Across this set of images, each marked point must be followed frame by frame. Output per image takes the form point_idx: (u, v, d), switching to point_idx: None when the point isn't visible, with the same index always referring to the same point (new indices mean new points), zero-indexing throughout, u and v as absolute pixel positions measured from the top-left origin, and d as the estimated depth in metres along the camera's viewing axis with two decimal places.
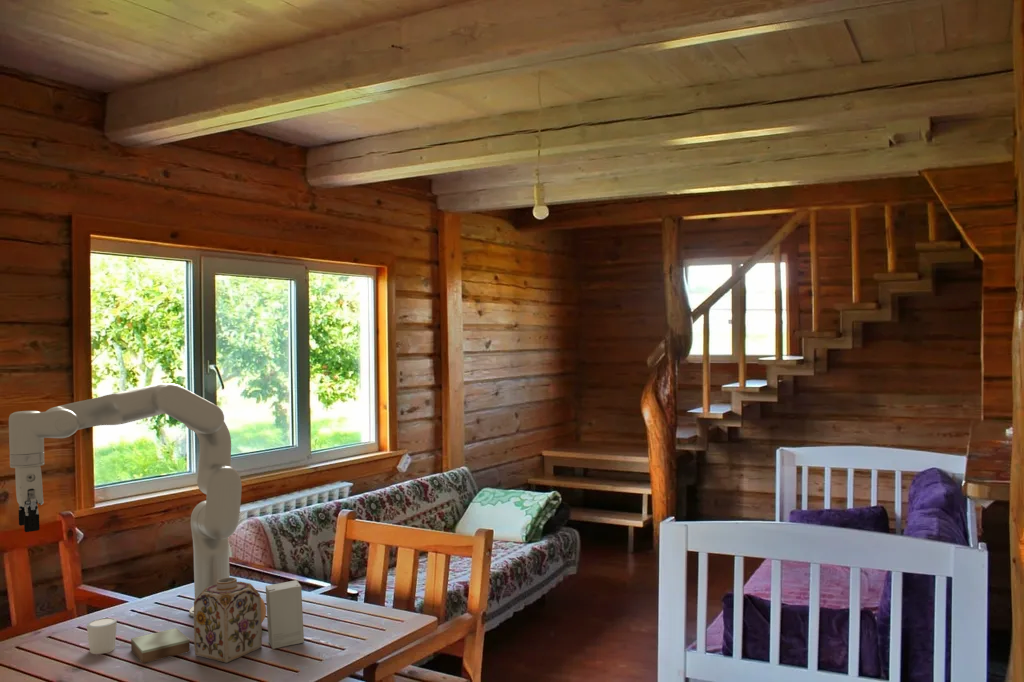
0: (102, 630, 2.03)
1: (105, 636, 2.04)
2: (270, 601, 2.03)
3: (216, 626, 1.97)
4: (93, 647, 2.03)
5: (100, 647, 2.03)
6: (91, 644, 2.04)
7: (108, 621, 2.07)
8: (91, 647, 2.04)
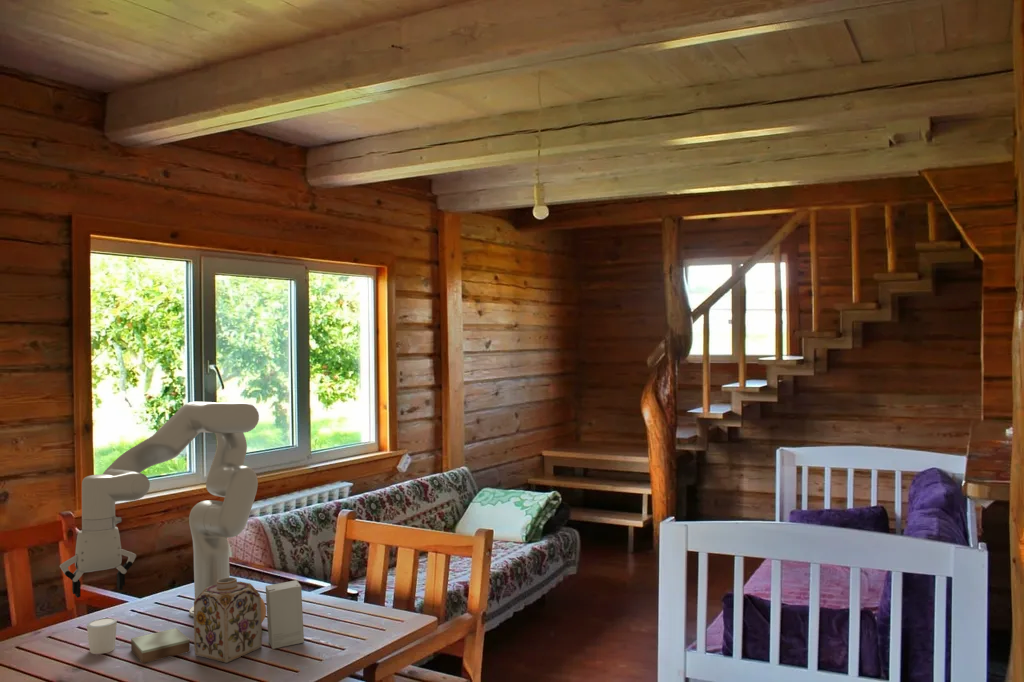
0: (102, 630, 2.03)
1: (105, 636, 2.04)
2: (270, 601, 2.03)
3: (216, 626, 1.97)
4: (93, 647, 2.03)
5: (100, 647, 2.03)
6: (91, 644, 2.04)
7: (108, 621, 2.07)
8: (91, 647, 2.04)
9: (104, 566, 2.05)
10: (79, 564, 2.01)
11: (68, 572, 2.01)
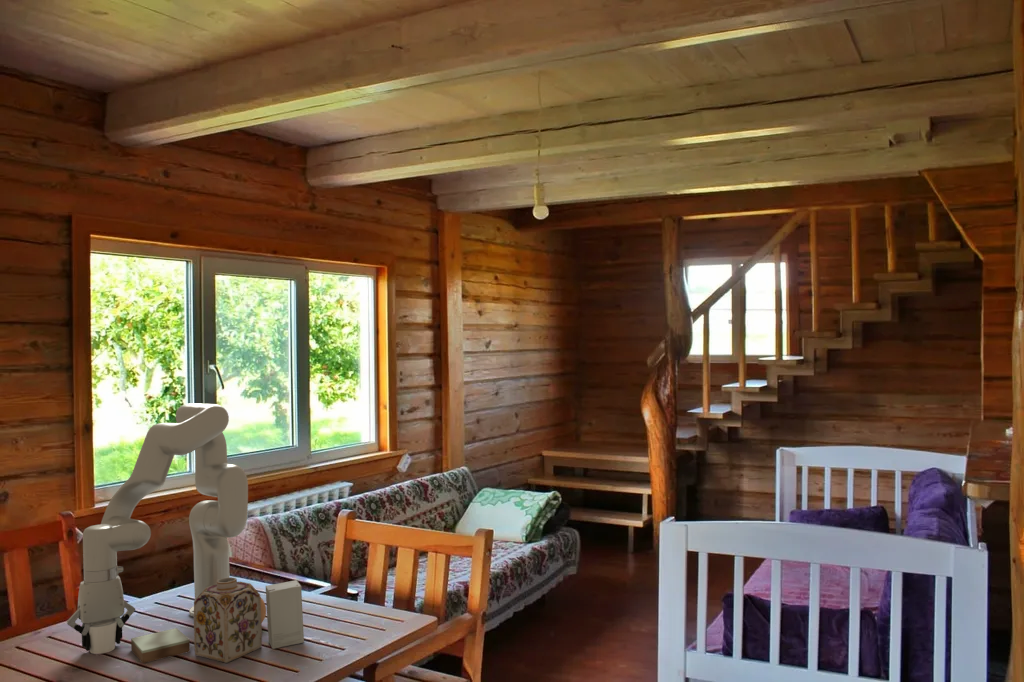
0: (102, 630, 2.03)
1: (105, 636, 2.04)
2: (270, 601, 2.03)
3: (216, 626, 1.97)
4: (93, 647, 2.03)
5: (100, 647, 2.03)
6: (91, 644, 2.04)
7: (108, 621, 2.07)
8: (91, 647, 2.04)
9: (107, 616, 2.05)
10: (81, 616, 2.02)
11: (77, 626, 2.02)
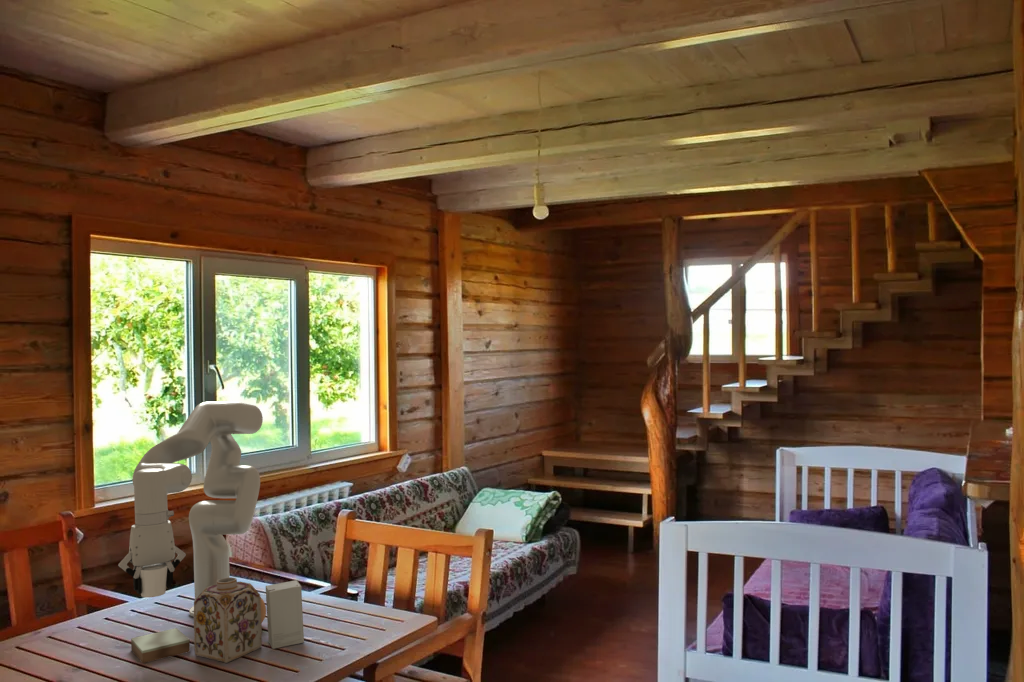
0: (153, 573, 2.02)
1: (156, 580, 2.02)
2: (270, 601, 2.03)
3: (216, 626, 1.97)
4: (145, 591, 2.02)
5: (151, 590, 2.02)
6: (142, 587, 2.02)
7: (159, 565, 2.05)
8: (142, 590, 2.02)
9: (158, 560, 2.03)
10: (133, 558, 2.00)
11: (129, 569, 2.01)
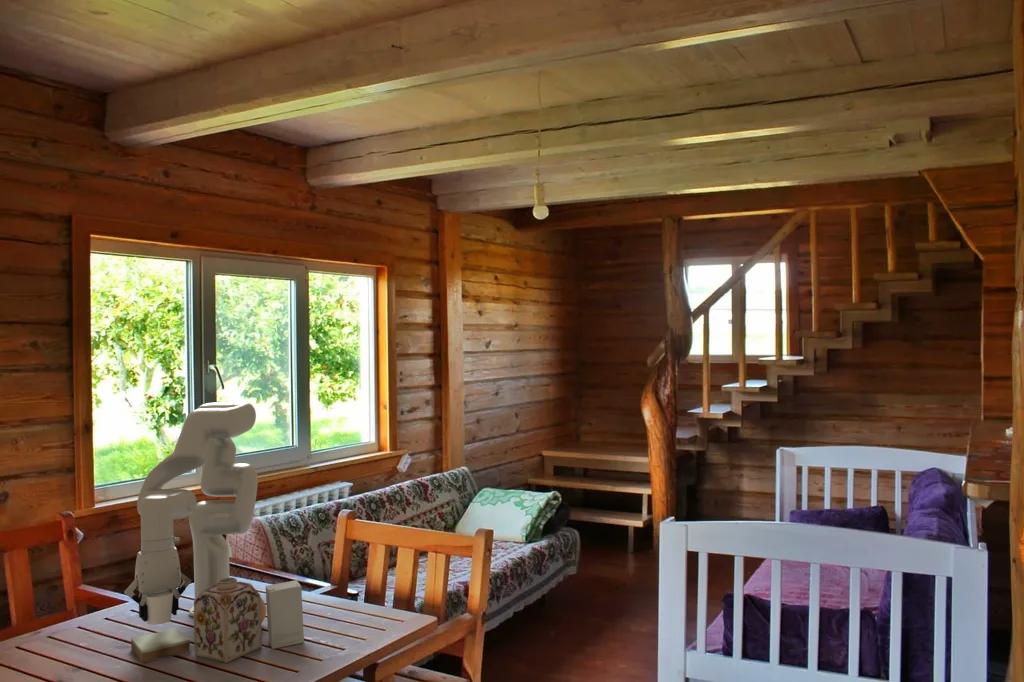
0: (159, 600, 2.01)
1: (162, 607, 2.02)
2: (270, 601, 2.03)
3: (216, 626, 1.97)
4: (150, 618, 2.01)
5: (157, 618, 2.01)
6: (148, 614, 2.01)
7: (165, 592, 2.05)
8: (148, 617, 2.02)
9: (164, 587, 2.03)
10: (139, 586, 2.00)
11: (135, 596, 2.00)
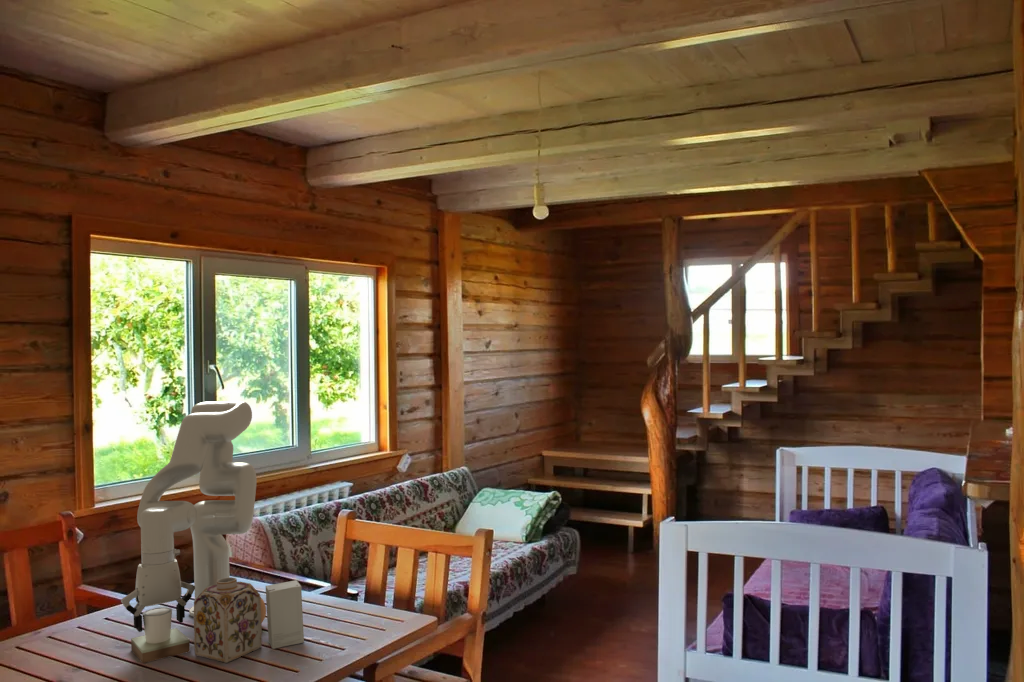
0: (158, 619, 2.01)
1: (161, 626, 2.02)
2: (270, 601, 2.03)
3: (216, 626, 1.97)
4: (150, 637, 2.01)
5: (156, 636, 2.01)
6: (147, 633, 2.02)
7: (163, 610, 2.05)
8: (147, 636, 2.02)
9: (165, 599, 2.03)
10: (140, 598, 2.00)
11: (130, 607, 1.99)
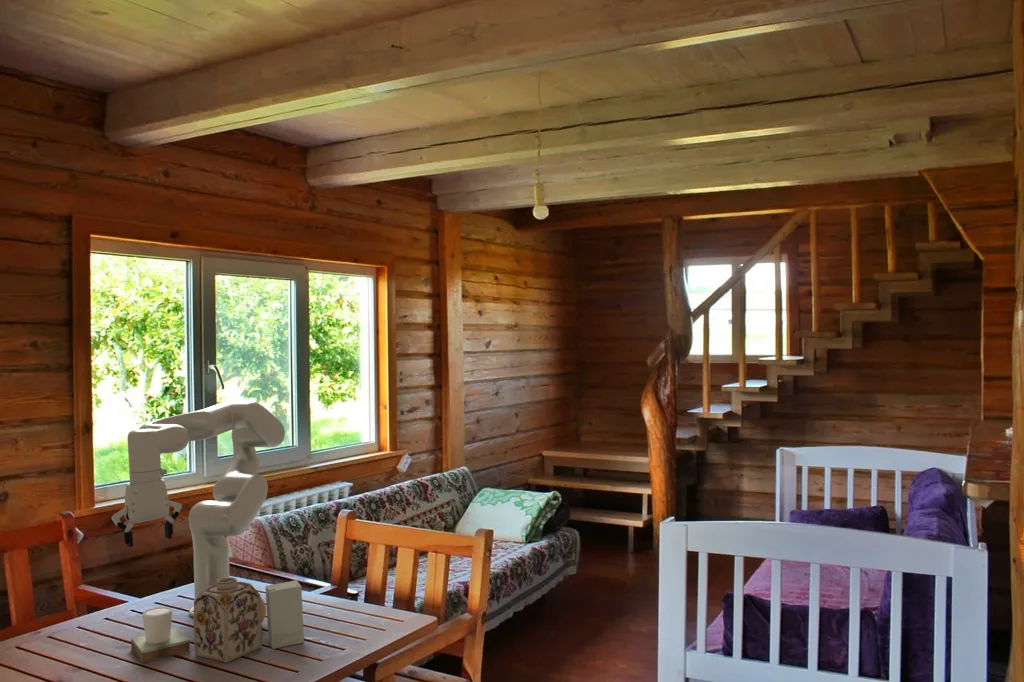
0: (158, 619, 2.01)
1: (161, 626, 2.02)
2: (270, 601, 2.03)
3: (216, 626, 1.97)
4: (150, 637, 2.01)
5: (156, 636, 2.01)
6: (147, 633, 2.02)
7: (163, 610, 2.05)
8: (147, 636, 2.02)
9: (154, 516, 2.11)
10: (130, 515, 2.08)
11: (120, 523, 2.07)
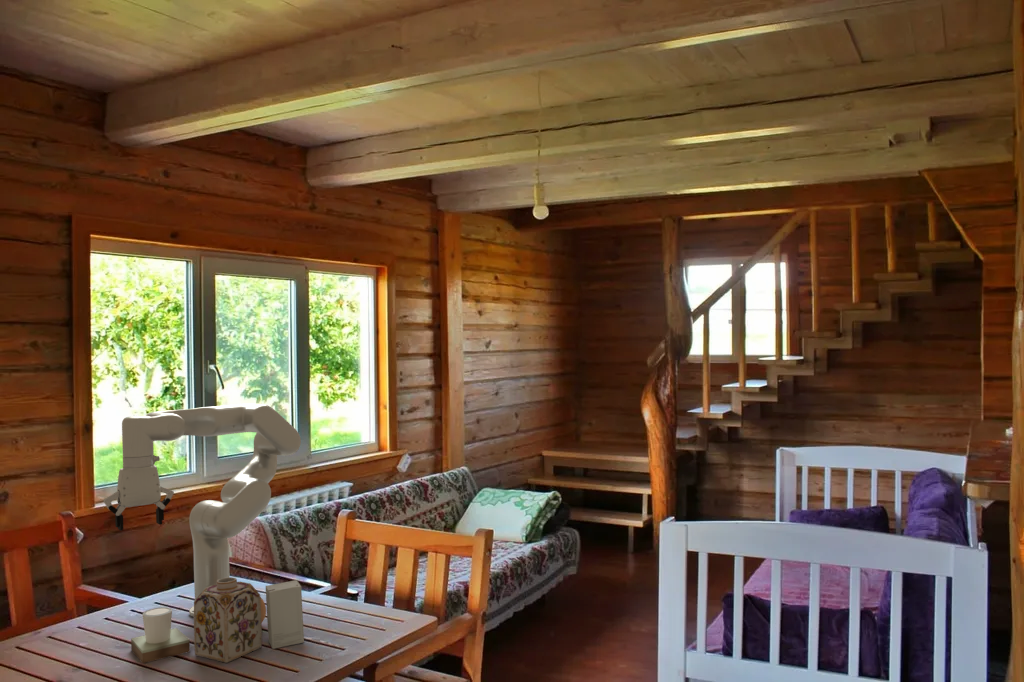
0: (158, 619, 2.01)
1: (161, 626, 2.02)
2: (270, 601, 2.03)
3: (216, 626, 1.97)
4: (150, 637, 2.01)
5: (156, 636, 2.01)
6: (147, 633, 2.02)
7: (163, 610, 2.05)
8: (147, 636, 2.02)
9: (144, 501, 2.16)
10: (121, 499, 2.13)
11: (111, 506, 2.13)
